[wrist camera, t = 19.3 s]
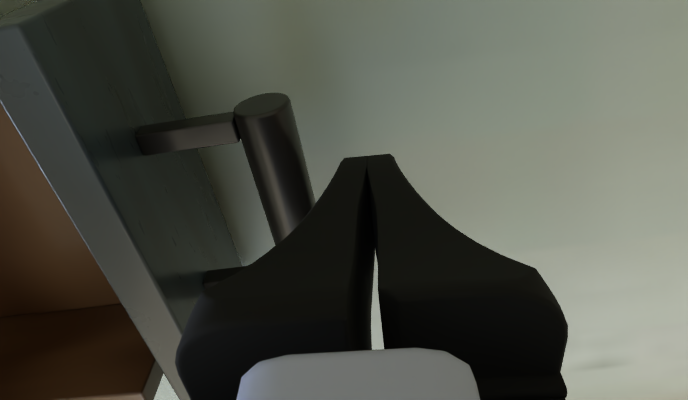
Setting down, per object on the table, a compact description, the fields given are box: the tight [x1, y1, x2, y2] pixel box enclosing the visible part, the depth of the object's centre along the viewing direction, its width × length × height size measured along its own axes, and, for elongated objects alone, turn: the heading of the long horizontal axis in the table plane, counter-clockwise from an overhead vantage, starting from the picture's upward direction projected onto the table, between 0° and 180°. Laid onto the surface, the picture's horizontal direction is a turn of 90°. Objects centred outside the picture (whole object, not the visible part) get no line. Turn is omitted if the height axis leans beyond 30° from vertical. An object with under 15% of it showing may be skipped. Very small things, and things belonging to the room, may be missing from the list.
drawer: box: [0, 0, 316, 400], centre depth 15 cm, size 17×12×5 cm
